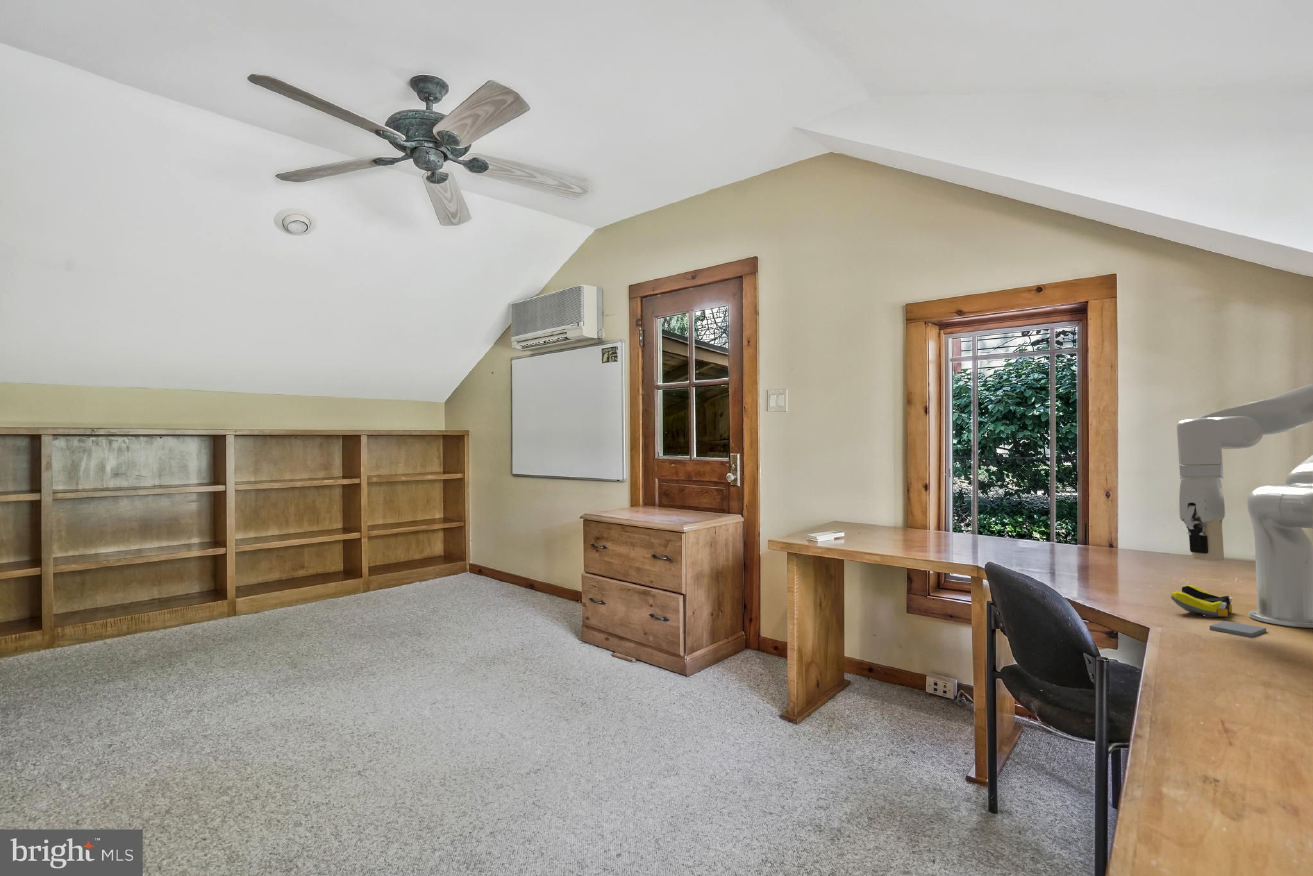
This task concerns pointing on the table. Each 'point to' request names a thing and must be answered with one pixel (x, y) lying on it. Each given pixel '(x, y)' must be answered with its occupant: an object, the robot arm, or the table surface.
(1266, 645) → the table surface
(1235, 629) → the grey flat block
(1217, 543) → the candle
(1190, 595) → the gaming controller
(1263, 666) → the table surface
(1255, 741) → the table surface
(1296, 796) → the table surface
